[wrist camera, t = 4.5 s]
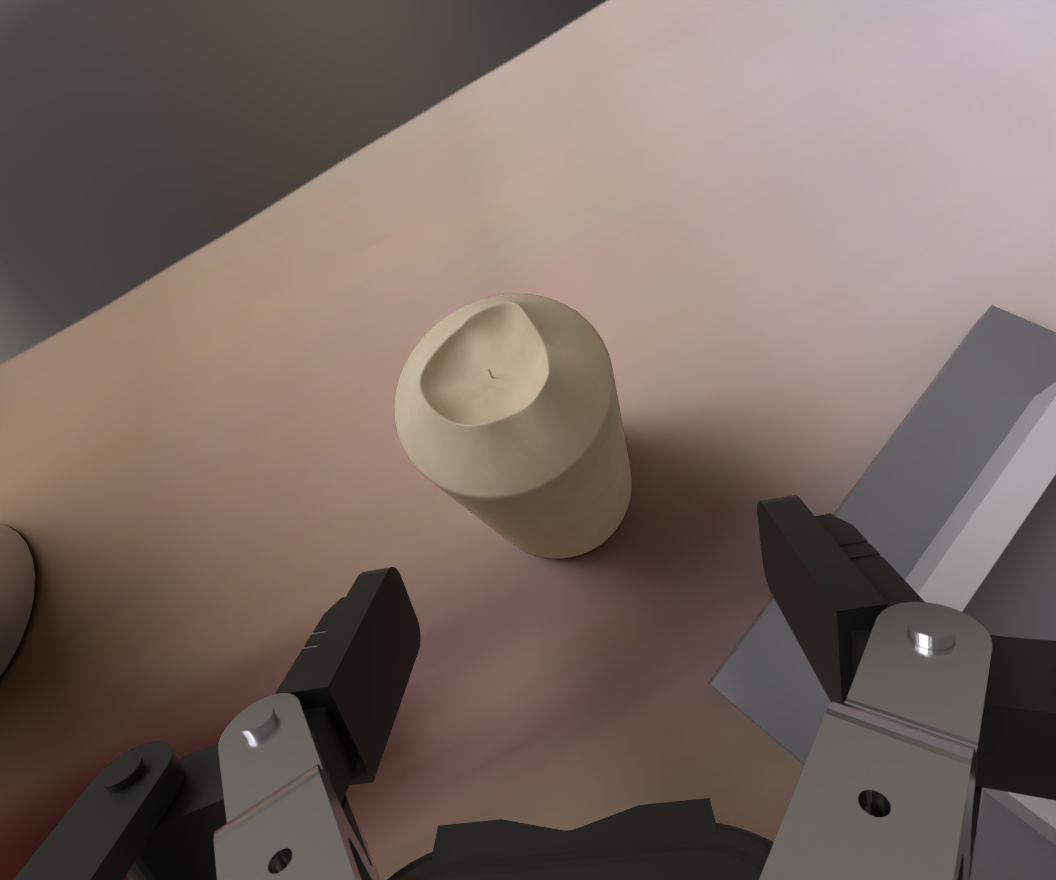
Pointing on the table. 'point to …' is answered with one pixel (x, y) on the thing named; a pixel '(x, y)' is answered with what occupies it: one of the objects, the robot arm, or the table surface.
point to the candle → (519, 422)
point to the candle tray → (948, 551)
